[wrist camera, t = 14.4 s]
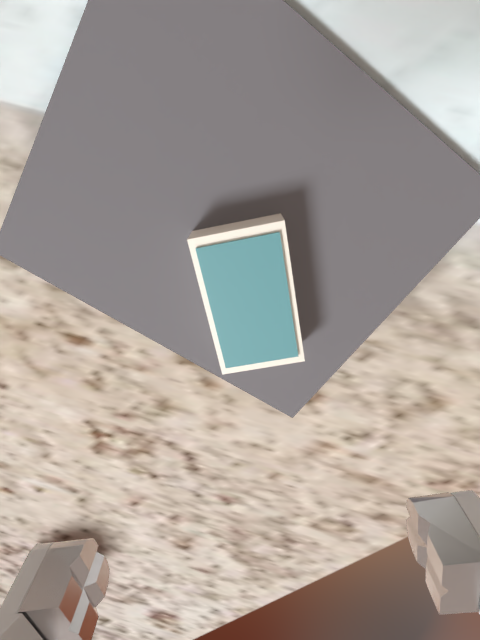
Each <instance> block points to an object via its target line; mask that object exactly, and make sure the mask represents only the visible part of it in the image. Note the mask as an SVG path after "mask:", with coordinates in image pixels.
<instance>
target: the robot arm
mask: <svg viewBox="0 0 480 640" xmlns="http://www.w3.org/2000/svg"><path fill="white" fill-rule="evenodd" d="M406 508H407V510H408V513H409V515H410V517H409V518H408V519H407V520H406V524H407V533H408V538H409V542H410V545H411V548H412V551H413V553H414V555H415V558H416V560H417V562H418V563H419V564H420V565H421V566H422V567H424V568H425V569H426V584H427V586H428V589H429V591H430V594H431V596H432V598H433V600H434V603H435V605H436V608H437V610H438V612H439V614H453V613H468V612H480V498H479V496H478V495H477V494H476V493H475V492H473V491H472V490H467V491H460V492H454V493H441V494H434V495H427V496H420V497H413V498H408V499H407V505H406ZM98 546H99V545H98V544H97V542H96V541H95V539H94V538H89V539H80V540H71V541H62V542H51V543H43V544H36V545H35V546H34V547H33V549H32V550H31V551H30V552H29V554H28V556H27V558H26V560H25V562H24V563H23V565H22V567H21V569H20V571H19V573H18V575H17V577H16V579H15V581H14V583H13V584H12V586H11V588H10V590H9V592H8V594H7V596H6V598H5V600H4V602H3V603H2V605H1V607H0V640H92V637H93V633H94V630H95V627H96V624H97V620H98V617H99V616H98V613H97V609H96V606H97V605H98V604H99V603H100V602H101V600H102V599H103V598H104V597H105V594H106V590H107V587H108V582H109V566H108V562H107V560H106V558H105V556H103V555H102V554H100V553H98V552H97V549H98ZM479 614H480V613H479Z"/></svg>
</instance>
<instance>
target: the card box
mask: <svg viewBox="0 0 480 640" xmlns="http://www.w3.org/2000/svg"><path fill="white" fill-rule="evenodd" d="M187 241H188V245H189V249H190V253H191V257H192V261H193V264H194V268H195V272H196V276H197V280H198V284H199V287H200V291H201V295H202V299H203V303H204V307H205V310H206V314H207V318H208V322H209V326H210V330H211V333H212V337H213V341H214V345H215V349H216V353H217V356H218V360H219V364H220V368H221V372H222V375H223V374H229V373H235V372H241V371H248V370H254V369H260V368H266V367H272V366H278V365H285V364H291V363H297V362H303V361H305V359H304V352H303V345H302V338H301V331H300V324H299V317H298V310H297V303H296V296H295V289H294V282H293V275H292V268H291V261H290V254H289V247H288V240H287V233H286V226H285V220H284V218H283V216H282V215H281V213H279V214H274V215H269V216H264V217H259V218H254V219H249V220H244V221H239V222H234V223H229V224H224V225H219V226H214V227H210V228H205V229H200V230H195V231H192V232H191V234H190V235H189V237H188V239H187Z"/></svg>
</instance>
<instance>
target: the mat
mask: <svg viewBox="0 0 480 640" xmlns="http://www.w3.org/2000/svg"><path fill="white" fill-rule="evenodd" d="M279 213H281V215H282V216H283V218H284V220H285V226H286V233H287V240H288V247H289V254H290V261H291V268H292V275H293V282H294V289H295V296H296V303H297V310H298V317H299V324H300V331H301V338H302V345H303V352H304V359H305V361H303V362H297V363H291V364H285V365H278V366H272V367H266V368H260V369H254V370H248V371H241V372H235V373H229V374H223V375H222V372H221V368H220V364H219V360H218V356H217V353H216V349H215V345H214V341H213V337H212V333H211V330H210V326H209V322H208V318H207V314H206V310H205V307H204V303H203V299H202V295H201V291H200V287H199V284H198V280H197V276H196V272H195V268H194V264H193V261H192V257H191V253H190V249H189V245H188V241H187V239H188V237H189V235H190V234H191V232H192V231H195V230H200V229H205V228H210V227H214V226H219V225H224V224H229V223H234V222H239V221H244V220H249V219H254V218H259V217H264V216H269V215H274V214H279ZM479 218H480V174H479V173H478V172H477V171H476V170H475V169H473V168H472V167H471V166H470V165H469V164H468V163H467V162H466V161H464V160H463V159H462V158H461V157H460V156H459V155H458V154H457V153H455V152H454V151H453V150H452V149H451V148H450V147H449V146H448V145H446V144H445V143H444V142H443V141H442V140H441V139H440V138H438V137H437V136H436V135H435V134H434V133H433V132H432V131H431V130H429V129H428V128H427V127H426V126H425V125H424V124H423V123H422V122H420V121H419V120H418V119H417V118H416V117H415V116H414V115H412V114H411V113H410V112H409V111H408V110H407V109H406V108H405V107H403V106H402V105H401V104H400V103H399V102H398V101H397V100H396V99H394V98H393V97H392V96H391V95H390V94H389V93H388V92H387V91H385V90H384V89H383V88H382V87H381V86H380V85H379V84H377V83H376V82H375V81H374V80H373V79H372V78H371V77H370V76H368V75H367V74H366V73H365V72H364V71H363V70H362V69H361V68H359V67H358V66H357V65H356V64H355V63H354V62H353V61H351V60H350V59H349V58H348V57H347V56H346V55H345V54H344V53H342V52H341V51H340V50H339V49H338V48H337V47H336V46H335V45H333V44H332V43H331V42H330V41H329V40H328V39H327V38H326V37H324V36H323V35H322V34H321V33H320V32H319V31H318V30H316V29H315V28H314V27H313V26H312V25H311V24H310V23H309V22H307V21H306V20H305V19H304V18H303V17H302V16H301V15H300V14H298V13H297V12H296V11H295V10H294V9H293V8H292V7H290V6H289V5H288V4H287V3H286V2H285V1H284V0H88V3H87V5H86V8H85V10H84V13H83V16H82V18H81V21H80V23H79V26H78V29H77V31H76V34H75V37H74V39H73V42H72V44H71V47H70V50H69V52H68V55H67V57H66V60H65V63H64V65H63V68H62V71H61V73H60V76H59V78H58V81H57V84H56V86H55V89H54V92H53V94H52V97H51V99H50V102H49V105H48V107H47V110H46V112H45V115H44V118H43V120H42V123H41V126H40V128H39V131H38V133H37V136H36V139H35V141H34V144H33V147H32V149H31V152H30V154H29V157H28V160H27V162H26V165H25V167H24V170H23V173H22V175H21V178H20V181H19V183H18V186H17V188H16V191H15V194H14V196H13V199H12V201H11V204H10V207H9V209H8V212H7V215H6V217H5V220H4V222H3V225H2V228H1V230H0V256H2V257H4V258H6V259H8V260H9V261H11V262H13V263H15V264H17V265H18V266H20V267H22V268H24V269H26V270H27V271H29V272H31V273H33V274H35V275H36V276H38V277H40V278H42V279H44V280H45V281H47V282H49V283H51V284H53V285H54V286H56V287H58V288H60V289H62V290H63V291H65V292H67V293H69V294H71V295H72V296H74V297H76V298H78V299H80V300H81V301H83V302H85V303H87V304H89V305H90V306H92V307H94V308H96V309H98V310H99V311H101V312H103V313H105V314H107V315H108V316H110V317H112V318H114V319H116V320H117V321H119V322H121V323H123V324H125V325H126V326H128V327H130V328H132V329H134V330H135V331H137V332H139V333H141V334H143V335H144V336H146V337H148V338H150V339H152V340H153V341H155V342H157V343H159V344H161V345H162V346H164V347H166V348H168V349H170V350H171V351H173V352H175V353H177V354H179V355H180V356H182V357H184V358H186V359H188V360H189V361H191V362H193V363H195V364H197V365H198V366H200V367H202V368H204V369H206V370H207V371H209V372H211V373H213V374H215V375H216V376H218V377H220V378H222V379H224V380H225V381H227V382H229V383H231V384H233V385H234V386H236V387H238V388H240V389H242V390H243V391H245V392H247V393H249V394H251V395H252V396H254V397H256V398H258V399H260V400H261V401H263V402H265V403H267V404H269V405H270V406H272V407H274V408H276V409H278V410H279V411H281V412H283V413H285V414H287V415H288V416H290V417H292V418H293V417H294V416H295V415H296V414H297V413H298V411H299V410H300V409H301V408H302V407H303V406H304V405H305V404H306V403H307V402H308V401H309V400H310V399H311V398H312V397H313V395H314V394H315V393H316V392H317V391H318V390H319V389H320V388H321V387H322V386H323V385H324V384H325V383H326V382H327V380H328V379H329V378H330V377H331V376H332V375H333V374H334V373H335V372H336V371H337V370H338V369H339V368H340V367H341V366H342V364H343V363H344V362H345V361H346V360H347V359H348V358H349V357H350V356H351V355H352V354H353V353H354V352H355V351H356V350H357V348H358V347H359V346H360V345H361V344H362V343H363V342H364V341H365V340H366V339H367V338H368V337H369V336H370V335H371V334H372V332H373V331H374V330H375V329H376V328H377V327H378V326H379V325H380V324H381V323H382V322H383V321H384V320H385V319H386V318H387V316H388V315H389V314H390V313H391V312H392V311H393V310H394V309H395V308H396V307H397V306H398V305H399V304H400V303H401V301H402V300H403V299H404V298H405V297H406V296H407V295H408V294H409V293H410V292H411V291H412V290H413V289H414V288H415V287H416V285H417V284H418V283H419V282H420V281H421V280H422V279H423V278H424V277H425V276H426V275H427V274H428V273H429V272H430V271H431V269H432V268H433V267H434V266H435V265H436V264H437V263H438V262H439V261H440V260H441V259H442V258H443V257H444V256H445V255H446V253H447V252H448V251H449V250H450V249H451V248H452V247H453V246H454V245H455V244H456V243H457V242H458V241H459V240H460V239H461V237H462V236H463V235H464V234H465V233H466V232H467V231H468V230H469V229H470V228H471V227H472V226H473V225H474V224H475V222H476V221H477V220H478V219H479Z"/></svg>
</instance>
